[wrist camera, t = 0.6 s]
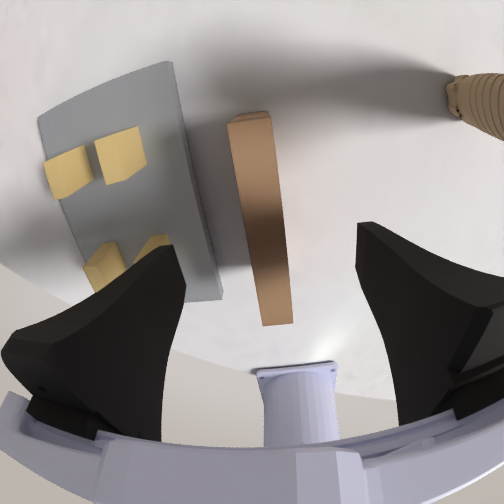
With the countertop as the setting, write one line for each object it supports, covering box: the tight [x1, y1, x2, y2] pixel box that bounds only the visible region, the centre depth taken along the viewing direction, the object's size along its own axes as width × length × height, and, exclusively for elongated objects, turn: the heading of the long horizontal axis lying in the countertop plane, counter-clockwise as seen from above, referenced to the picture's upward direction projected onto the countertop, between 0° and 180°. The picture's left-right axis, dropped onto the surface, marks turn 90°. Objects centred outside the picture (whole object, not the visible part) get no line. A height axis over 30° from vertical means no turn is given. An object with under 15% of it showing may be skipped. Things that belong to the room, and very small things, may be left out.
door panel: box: [227, 111, 293, 326], centre depth 14 cm, size 10×2×6 cm, turn 8°
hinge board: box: [37, 61, 223, 302], centre depth 16 cm, size 16×10×4 cm, turn 9°
